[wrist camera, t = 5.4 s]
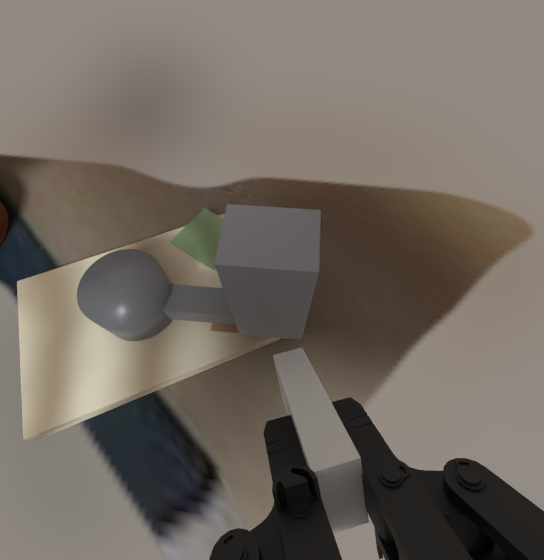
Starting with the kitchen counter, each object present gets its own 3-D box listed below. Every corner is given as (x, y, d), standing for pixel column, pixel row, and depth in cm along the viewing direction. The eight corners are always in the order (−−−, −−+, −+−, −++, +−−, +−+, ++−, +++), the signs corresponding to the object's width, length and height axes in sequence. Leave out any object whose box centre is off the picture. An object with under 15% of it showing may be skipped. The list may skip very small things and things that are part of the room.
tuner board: (37, 439, 19) (22, 439, 17) (28, 276, 24) (16, 268, 23) (291, 334, 21) (292, 329, 20) (233, 208, 27) (231, 198, 25)
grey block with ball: (93, 337, 20) (-34, 268, 12) (117, 270, 22) (25, 173, 14) (300, 356, 19) (318, 296, 11) (304, 285, 22) (321, 191, 13)
